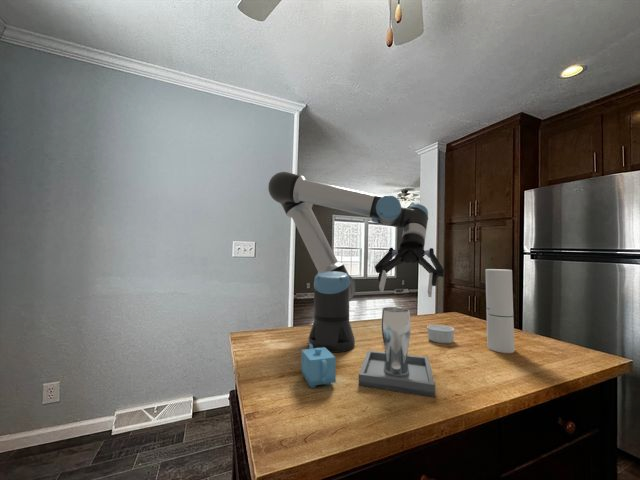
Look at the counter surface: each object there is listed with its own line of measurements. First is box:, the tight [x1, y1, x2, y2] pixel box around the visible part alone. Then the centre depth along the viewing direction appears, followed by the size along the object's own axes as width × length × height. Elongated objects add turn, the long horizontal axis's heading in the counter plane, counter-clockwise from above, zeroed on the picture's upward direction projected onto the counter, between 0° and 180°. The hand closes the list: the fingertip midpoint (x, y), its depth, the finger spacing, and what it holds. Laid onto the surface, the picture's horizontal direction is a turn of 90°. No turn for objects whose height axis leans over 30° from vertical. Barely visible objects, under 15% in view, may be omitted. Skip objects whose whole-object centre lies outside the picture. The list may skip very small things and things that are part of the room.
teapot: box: [300, 342, 337, 388], centre depth 64 cm, size 12×6×8 cm, turn 19°
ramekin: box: [426, 324, 455, 344], centre depth 95 cm, size 9×9×4 cm
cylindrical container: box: [484, 268, 515, 354], centre depth 86 cm, size 7×7×25 cm
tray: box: [358, 350, 436, 398], centre depth 66 cm, size 16×16×2 cm
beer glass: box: [381, 306, 412, 377], centre depth 67 cm, size 7×7×15 cm
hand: (404, 292), depth 78 cm, fingers open, 13 cm apart
